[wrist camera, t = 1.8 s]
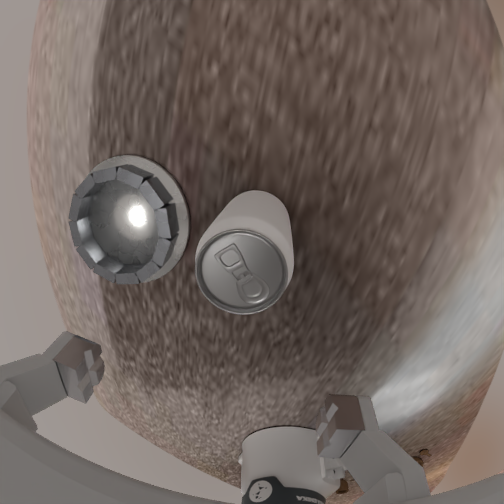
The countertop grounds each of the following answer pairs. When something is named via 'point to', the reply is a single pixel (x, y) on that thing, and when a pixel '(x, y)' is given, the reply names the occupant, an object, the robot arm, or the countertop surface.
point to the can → (246, 254)
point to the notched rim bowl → (130, 220)
